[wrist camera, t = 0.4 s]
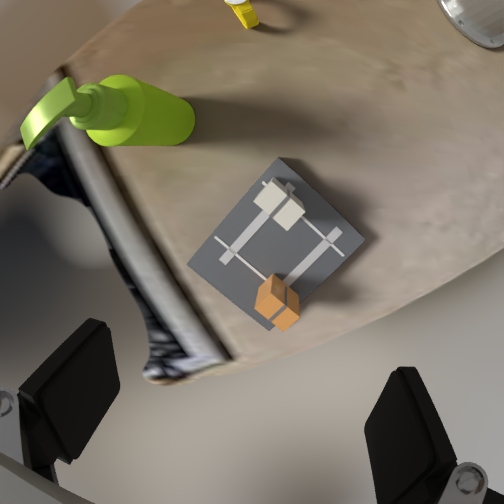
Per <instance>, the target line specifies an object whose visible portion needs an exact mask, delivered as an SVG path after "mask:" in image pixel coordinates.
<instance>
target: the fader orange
mask: <svg viewBox="0 0 504 504" xmlns="http://www.w3.org/2000/svg"><path fill="white" fill-rule="evenodd" d="M254 309H255V310H257V311H258V312H259V313H260V314H262V315H263V316H264V317H265V318H267V319H268V321H269V322H272V323H273V324H274V325H276V326H277V327H278V328H279V329H281V330H282V331H283V332H284V331H285V330H286V329H287V328H288V327H290V326H291V325H292V324H293V323H294V322H295V321H296V320H297V319H299V318H300V309H299V295H298V294H297V293H296V292H294V291H293V290H292V289H291V288H290V287H289V286H287V285H286V284H285V283H284V282H283V281H282V280H280V279H279V278H278V277H277V276H276V275H274V274H272V275H271V276H270V277H269V278H268V279H267V280H266V281H265V282H264V283H263V284H262V285H261V286H260V287H259V289H258V294H257V298H256V303H255V308H254Z"/></svg>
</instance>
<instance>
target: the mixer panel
mask: <svg viewBox="0 0 504 504" xmlns="http://www.w3.org/2000/svg"><path fill="white" fill-rule="evenodd" d="M273 177H274V178H276V179H277V180H278V181H279V182H280V183H281V184H282V185H284V186H285V187H286V188H287V189H288V190H289V191H290V192H291V193H293V194H294V195H295V196H296V197H297V198H298V199H299V200H300V201H301V202H302V203H303V206H304V209H305V213H304V214H303V215H302V216H301V217H300V218H299V219H298V220H297V221H296V222H295V223H294V224H293V225H292V227H291V228H290V229H289V230H288V231H286V230H285V229H284V228H283V227H282V226H281V225H280V224H279V223H277V222H276V221H275V220H274V219H273V218H271V217H269V215H268V214H267V213H266V212H265V211H264V210H263V209H261V208H260V207H259V206H258V205H257V204H256V203H255V202H253V201H254V200H255V198H256V197H257V195H258V194H259V193H260V192H261V190H262V189H263V188H264V187H265V186H266V185H267V184H268V183H269V181H270V180H271V179H272V178H273ZM364 241H365V239H364V238H363V236H362V235H361V234H360V233H359V232H358V231H357V230H356V229H355V228H354V227H353V226H352V225H351V224H350V223H349V222H348V221H347V220H346V219H345V218H344V217H343V216H342V215H341V214H340V213H339V212H338V211H337V210H336V209H335V208H333V207H332V206H331V205H330V204H329V203H328V202H327V201H326V200H325V199H324V198H323V197H322V196H321V195H320V194H319V193H318V192H317V191H316V190H314V189H313V188H312V187H311V186H310V185H309V184H308V183H307V182H306V181H305V180H304V179H302V178H301V177H300V176H299V175H298V174H297V173H296V172H295V171H294V170H292V169H291V168H290V167H289V166H288V165H287V164H286V163H284V162H283V161H282V160H281V159H280V158H279V157H278V158H277V159H276V160H275V161H274V162H273V164H272V165H271V166H270V167H269V168H268V169H267V170H266V171H265V173H264V174H263V175H262V176H261V177H260V178H259V179H258V180H257V182H256V183H255V184H254V185H253V186H252V187H251V188H250V190H249V191H248V192H247V193H246V194H245V195H244V196H243V198H242V199H241V200H240V201H239V202H238V203H237V205H236V206H235V207H234V208H233V209H232V210H231V212H230V213H229V214H228V215H227V216H226V217H225V219H224V220H223V221H222V222H221V223H220V224H219V226H218V227H217V228H216V229H215V230H214V232H213V233H212V234H211V235H210V236H209V238H208V239H207V240H206V241H205V242H204V244H203V245H202V246H201V247H200V248H199V250H198V251H197V252H196V253H195V254H194V256H193V257H192V258H191V259H190V260H189V262H188V263H187V265H188V266H189V267H190V268H191V269H193V270H194V271H195V272H196V273H197V274H199V275H200V276H201V277H202V278H203V279H205V280H206V281H207V282H208V283H209V284H211V285H212V286H213V287H214V288H216V289H217V290H218V291H219V292H220V293H222V294H223V295H224V296H225V297H227V298H228V299H229V300H230V301H232V302H233V303H234V304H235V305H237V306H238V307H239V308H240V309H242V310H243V311H244V312H245V313H247V314H248V315H249V316H250V317H252V318H253V319H254V320H256V321H257V322H258V323H259V324H261V325H262V326H263V327H265V328H266V329H267V330H268V331H270V330H271V329H272V328H273V327H274V326H276V325H274V324H273V323H272V322H269V321H268V319H267V318H265V317H264V316H263V315H262V314H260V313H259V312H258V311H257V310H255V309H254V308H255V303H256V298H257V294H258V289H259V287H260V286H261V285H262V284H263V283H264V282H265V281H266V280H267V279H268V278H269V277H270V276H271V275H272V274H274V275H276V276H277V277H278V278H279V279H280V280H282V281H283V282H284V283H285V284H286V285H287V286H289V287H290V288H291V289H292V290H293V291H294V292H296V293H297V294H298V295H299V304H300V303H301V302H302V301H303V300H304V299H305V298H306V297H307V296H308V295H310V294H311V293H312V292H313V291H314V290H315V289H316V288H317V287H318V286H319V285H320V284H321V283H322V282H323V281H324V280H325V279H326V278H327V277H328V276H329V275H331V274H332V273H333V272H334V271H335V270H336V269H337V268H338V267H339V266H340V265H341V264H342V263H343V262H344V261H345V260H346V259H347V258H348V257H349V256H350V255H351V254H352V253H353V252H354V251H355V250H356V249H357V248H358V247H359V246H360V245H361V244H362V243H363V242H364Z"/></svg>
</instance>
